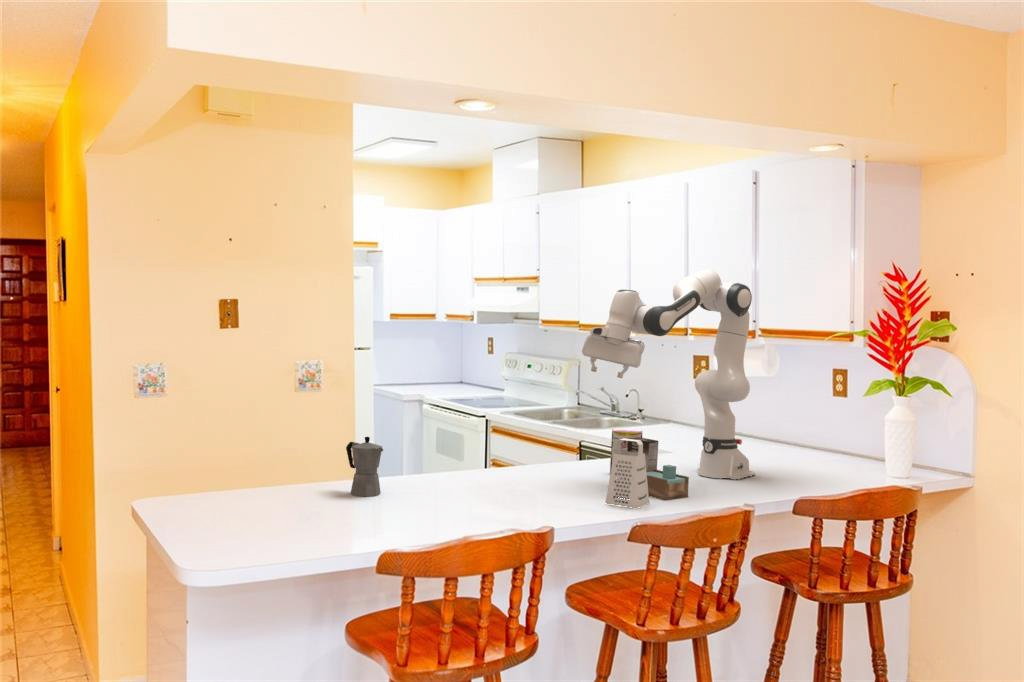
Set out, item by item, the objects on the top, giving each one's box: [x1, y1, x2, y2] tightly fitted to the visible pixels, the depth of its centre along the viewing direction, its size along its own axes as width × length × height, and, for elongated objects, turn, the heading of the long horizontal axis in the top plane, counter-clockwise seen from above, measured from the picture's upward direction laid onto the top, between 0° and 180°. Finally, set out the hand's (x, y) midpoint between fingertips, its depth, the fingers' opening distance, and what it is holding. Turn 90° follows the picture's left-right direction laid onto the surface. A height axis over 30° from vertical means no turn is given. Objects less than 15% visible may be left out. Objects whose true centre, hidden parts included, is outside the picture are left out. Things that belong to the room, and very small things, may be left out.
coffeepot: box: [345, 436, 384, 498], centre depth 284 cm, size 15×9×18 cm, turn 54°
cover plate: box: [646, 464, 685, 484], centre depth 299 cm, size 8×14×5 cm, turn 37°
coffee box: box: [627, 437, 659, 470], centre depth 312 cm, size 9×6×16 cm
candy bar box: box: [609, 428, 643, 474], centre depth 331 cm, size 11×5×16 cm, turn 84°
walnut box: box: [646, 469, 690, 501], centre depth 299 cm, size 11×16×6 cm
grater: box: [604, 438, 650, 509], centre depth 282 cm, size 10×10×20 cm
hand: (606, 374), depth 306 cm, fingers open, 8 cm apart
